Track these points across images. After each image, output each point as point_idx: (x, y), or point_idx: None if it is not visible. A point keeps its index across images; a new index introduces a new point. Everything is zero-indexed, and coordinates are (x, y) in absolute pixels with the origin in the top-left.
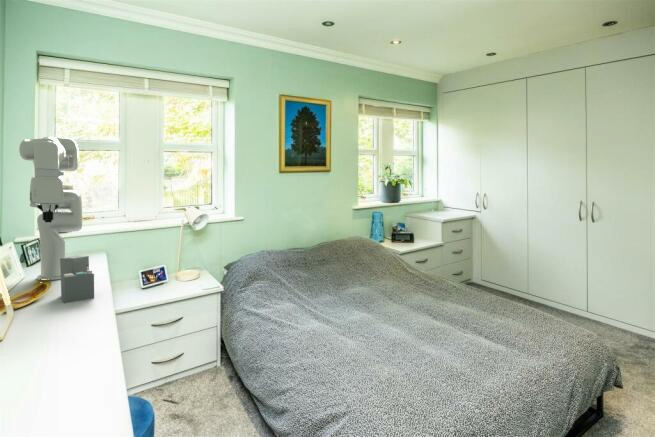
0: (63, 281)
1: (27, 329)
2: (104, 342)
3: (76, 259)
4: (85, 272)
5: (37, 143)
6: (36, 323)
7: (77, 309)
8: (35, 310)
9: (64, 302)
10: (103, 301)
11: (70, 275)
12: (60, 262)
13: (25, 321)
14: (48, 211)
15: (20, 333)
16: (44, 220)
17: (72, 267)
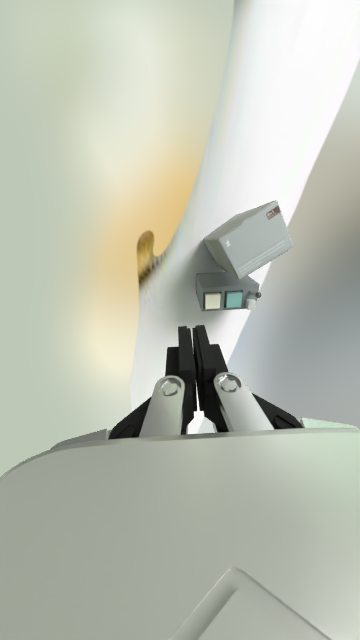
0: (200, 301)
1: (146, 369)
2: (194, 423)
3: (249, 273)
4: (249, 285)
5: None
6: (154, 357)
7: None
8: (157, 306)
9: (196, 292)
10: (241, 316)
11: (213, 308)
12: (216, 241)
13: (145, 344)
14: (204, 390)
15: (140, 376)
16: (178, 328)
17: (231, 274)
